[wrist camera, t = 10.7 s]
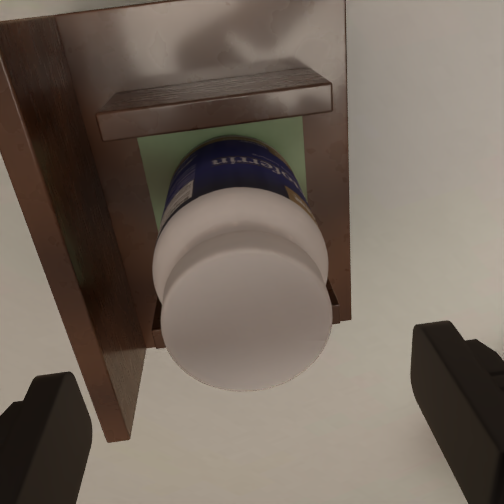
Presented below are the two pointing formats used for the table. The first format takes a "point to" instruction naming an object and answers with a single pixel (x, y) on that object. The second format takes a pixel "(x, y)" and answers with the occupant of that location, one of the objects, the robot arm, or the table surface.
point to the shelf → (160, 150)
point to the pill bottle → (240, 268)
